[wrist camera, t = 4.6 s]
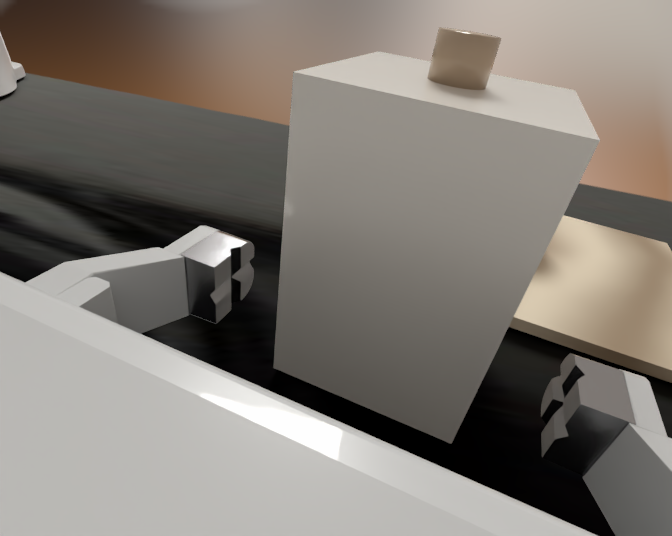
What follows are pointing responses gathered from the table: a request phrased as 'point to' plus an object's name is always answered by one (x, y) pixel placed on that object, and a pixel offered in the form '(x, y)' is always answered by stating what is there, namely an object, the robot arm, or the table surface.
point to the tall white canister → (418, 222)
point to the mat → (603, 297)
